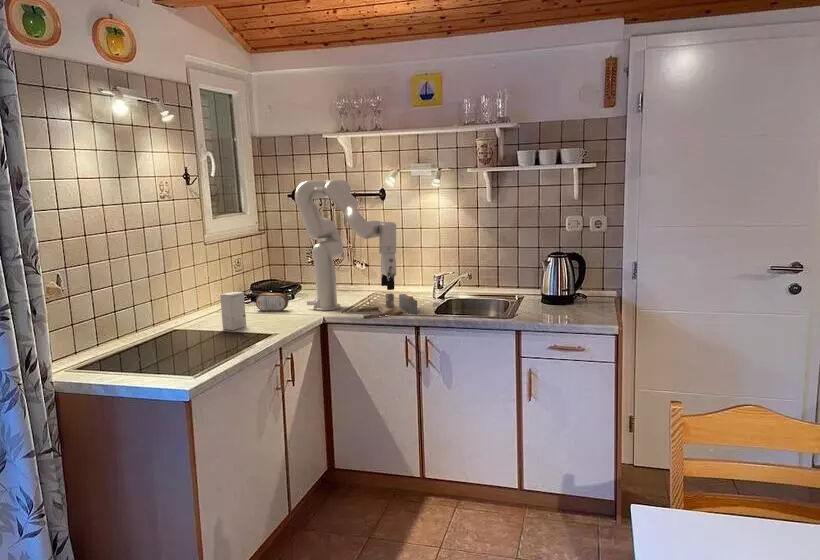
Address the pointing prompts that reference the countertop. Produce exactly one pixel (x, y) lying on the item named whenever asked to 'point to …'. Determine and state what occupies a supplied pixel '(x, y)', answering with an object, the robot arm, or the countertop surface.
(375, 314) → the track
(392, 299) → the post on wide base
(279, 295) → the tin
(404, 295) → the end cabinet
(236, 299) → the skincare box
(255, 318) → the countertop surface
